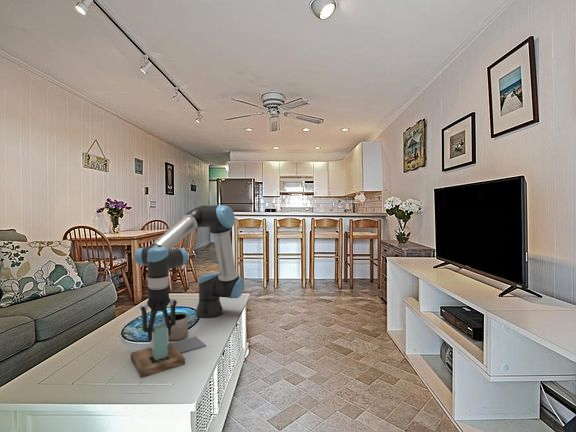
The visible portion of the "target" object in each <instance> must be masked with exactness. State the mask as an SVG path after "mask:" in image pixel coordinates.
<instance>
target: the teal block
mask: <svg viewBox="0 0 576 432" xmlns="http://www.w3.org/2000/svg"><path fill="white" fill-rule="evenodd" d="M153 331H154V342H155V349H152V356H153V357H154V359H155V360H158V359H162V358H165V357H168V356H167V326H166V325H165V324H164V322H163V323H159V324H155V325H153Z"/></svg>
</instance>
